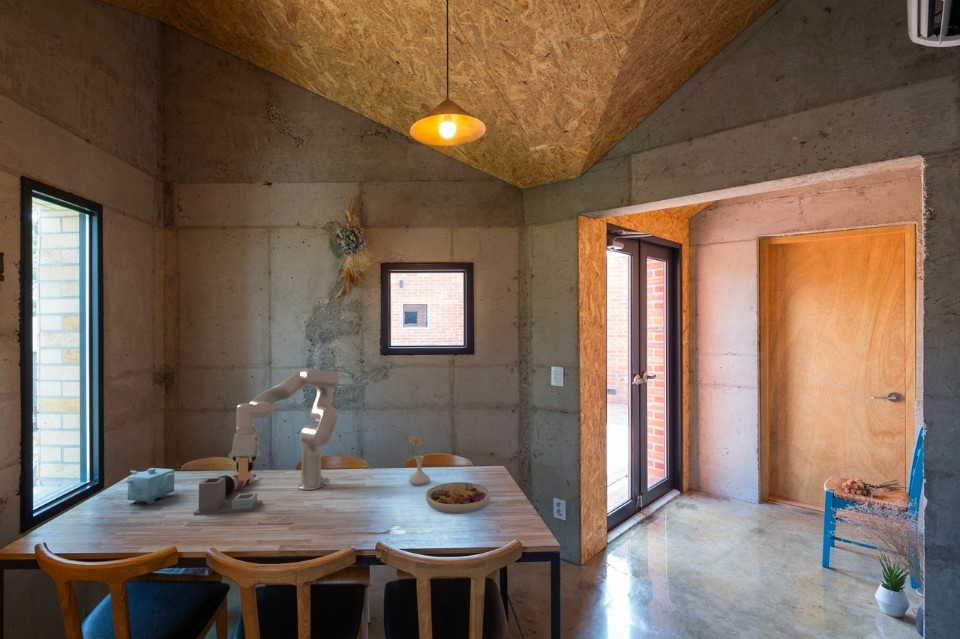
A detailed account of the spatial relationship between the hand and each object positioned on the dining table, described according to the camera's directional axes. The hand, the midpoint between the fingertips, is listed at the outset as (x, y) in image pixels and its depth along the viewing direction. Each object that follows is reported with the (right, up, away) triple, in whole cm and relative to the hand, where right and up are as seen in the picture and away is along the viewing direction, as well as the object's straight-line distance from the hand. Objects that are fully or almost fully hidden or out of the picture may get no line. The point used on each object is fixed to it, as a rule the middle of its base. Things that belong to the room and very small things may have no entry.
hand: (244, 470), depth 209 cm
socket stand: (-7, -17, -1) cm, 18 cm away
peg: (0, -4, 0) cm, 4 cm away
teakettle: (-51, -18, +10) cm, 55 cm away
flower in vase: (+75, -17, +32) cm, 84 cm away
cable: (-17, -18, +22) cm, 33 cm away
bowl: (+98, -17, +4) cm, 99 cm away
